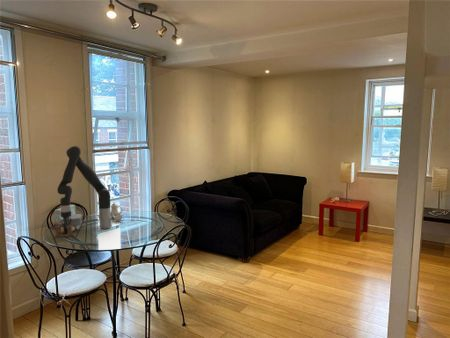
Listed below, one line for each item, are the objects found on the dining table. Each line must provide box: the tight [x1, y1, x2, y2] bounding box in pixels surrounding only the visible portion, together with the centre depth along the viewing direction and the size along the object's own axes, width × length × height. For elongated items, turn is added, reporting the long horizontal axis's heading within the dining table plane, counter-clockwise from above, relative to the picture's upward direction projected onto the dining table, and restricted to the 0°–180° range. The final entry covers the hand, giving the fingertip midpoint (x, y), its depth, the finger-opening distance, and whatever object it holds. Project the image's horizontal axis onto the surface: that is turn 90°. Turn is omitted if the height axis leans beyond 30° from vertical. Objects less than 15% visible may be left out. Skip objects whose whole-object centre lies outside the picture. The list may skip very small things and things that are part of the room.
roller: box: [60, 226, 74, 233], centre depth 263 cm, size 8×4×4 cm, turn 96°
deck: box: [54, 225, 74, 238], centre depth 269 cm, size 12×28×9 cm, turn 6°
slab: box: [70, 213, 82, 226], centre depth 277 cm, size 10×16×6 cm, turn 21°
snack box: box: [54, 204, 77, 227], centre depth 294 cm, size 21×6×15 cm, turn 168°
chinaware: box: [96, 202, 124, 223], centre depth 307 cm, size 28×17×17 cm, turn 76°
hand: (66, 231), depth 263 cm, fingers closed on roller, 4 cm apart
